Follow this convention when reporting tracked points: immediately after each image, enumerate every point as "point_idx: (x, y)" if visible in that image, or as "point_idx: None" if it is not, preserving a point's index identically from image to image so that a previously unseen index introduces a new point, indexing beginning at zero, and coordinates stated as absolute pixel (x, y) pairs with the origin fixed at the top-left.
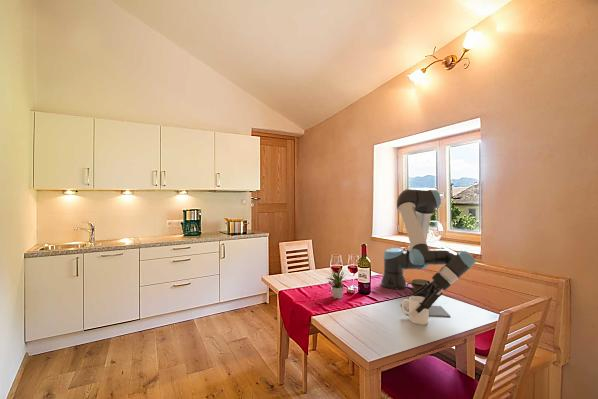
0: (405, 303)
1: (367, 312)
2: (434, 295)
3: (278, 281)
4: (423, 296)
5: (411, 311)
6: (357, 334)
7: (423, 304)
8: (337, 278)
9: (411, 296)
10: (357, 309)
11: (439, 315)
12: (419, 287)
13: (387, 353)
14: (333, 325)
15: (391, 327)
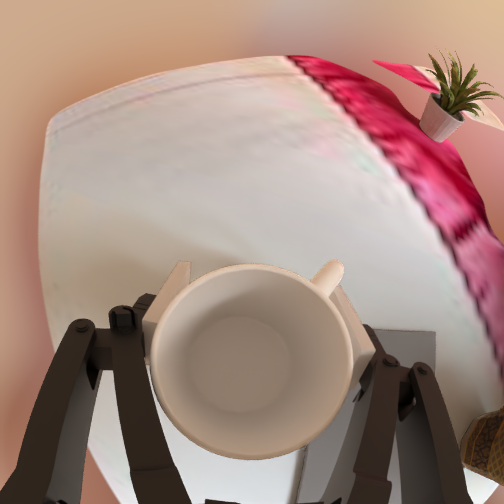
0: (341, 295)
1: (333, 158)
2: (28, 451)
3: (450, 81)
4: (476, 451)
5: (175, 271)
6: (157, 100)
7: (81, 321)
8: (459, 87)
9: (337, 315)
10: (354, 139)
11: (298, 499)
12: None
13: (48, 148)
14: (223, 69)
15: (179, 196)
